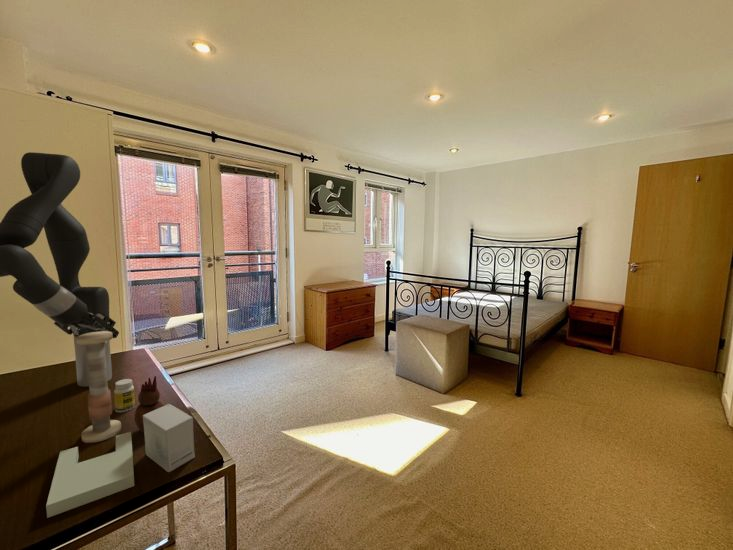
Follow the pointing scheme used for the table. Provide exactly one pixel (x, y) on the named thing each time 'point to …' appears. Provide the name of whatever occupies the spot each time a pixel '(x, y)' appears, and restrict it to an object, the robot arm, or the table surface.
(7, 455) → the table surface
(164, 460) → the skincare box
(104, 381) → the bobbin post
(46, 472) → the table surface
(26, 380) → the table surface
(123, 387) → the supplement bottle
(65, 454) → the notched board
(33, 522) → the table surface
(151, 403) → the wooden figurine
